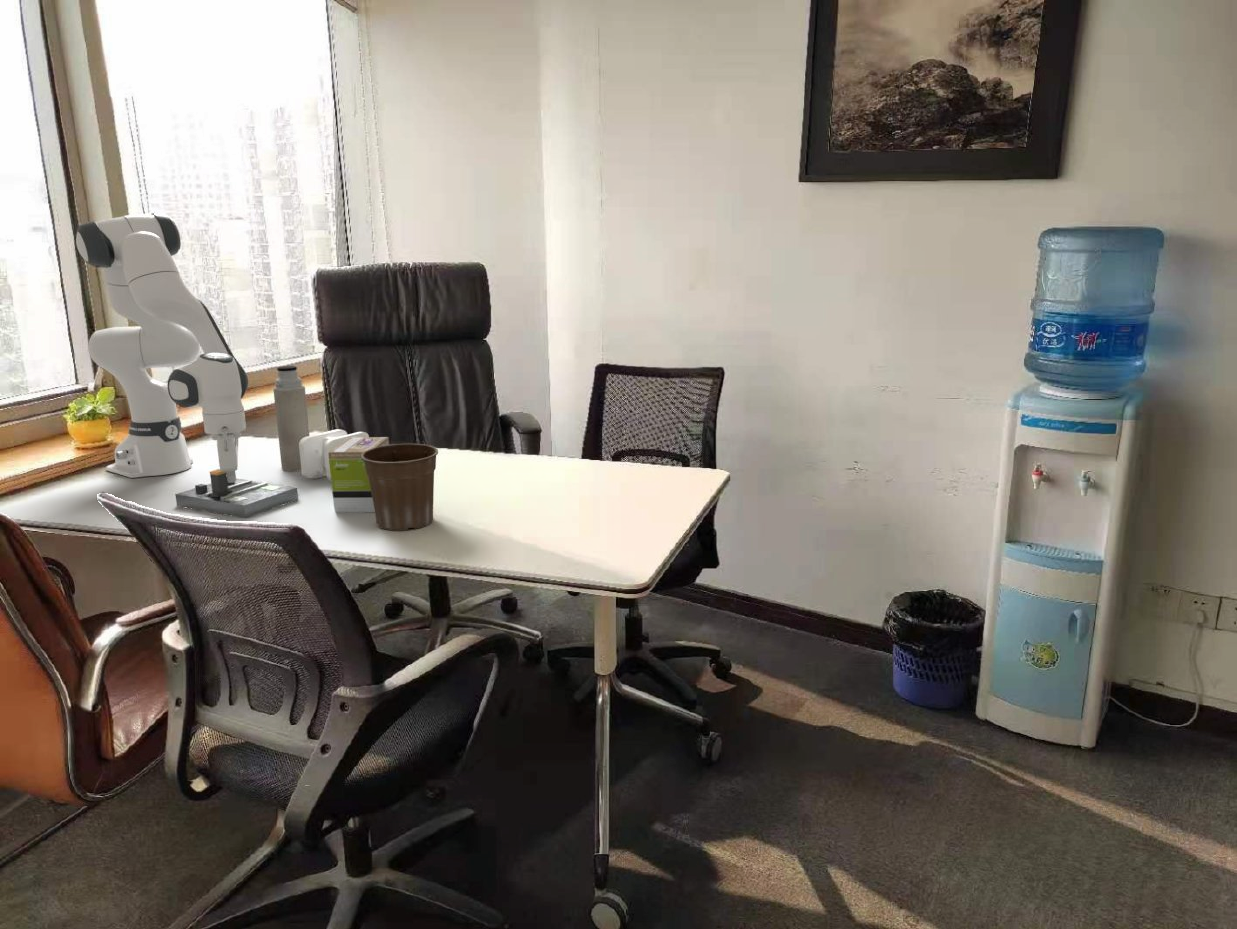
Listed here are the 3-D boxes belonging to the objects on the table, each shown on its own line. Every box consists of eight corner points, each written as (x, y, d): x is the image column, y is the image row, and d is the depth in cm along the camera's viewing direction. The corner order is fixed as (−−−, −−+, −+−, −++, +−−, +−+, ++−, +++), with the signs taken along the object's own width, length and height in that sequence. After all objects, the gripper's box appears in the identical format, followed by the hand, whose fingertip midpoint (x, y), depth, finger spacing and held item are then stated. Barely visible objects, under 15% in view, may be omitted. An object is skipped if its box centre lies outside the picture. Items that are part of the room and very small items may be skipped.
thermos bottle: (300, 462, 241) (290, 363, 234) (318, 466, 237) (309, 365, 230) (275, 468, 234) (264, 367, 227) (294, 472, 230) (283, 369, 223)
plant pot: (425, 536, 179) (420, 462, 175) (353, 532, 182) (347, 459, 178) (452, 513, 195) (449, 444, 191) (386, 510, 198) (381, 442, 194)
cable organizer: (329, 486, 217) (325, 442, 214) (300, 480, 222) (296, 437, 219) (372, 473, 230) (369, 430, 227) (345, 468, 235) (341, 426, 232)
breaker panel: (176, 506, 201) (174, 487, 200) (232, 489, 215) (230, 471, 214) (245, 518, 192) (243, 498, 191) (298, 499, 206) (296, 480, 205)
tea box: (354, 494, 210) (349, 435, 206) (395, 494, 210) (390, 435, 206) (332, 513, 196) (327, 450, 192) (376, 513, 195) (371, 450, 192)
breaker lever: (209, 495, 197) (206, 472, 196) (223, 491, 201) (220, 468, 199) (218, 497, 196) (215, 473, 195) (232, 492, 200) (229, 469, 198)
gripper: (239, 430, 189) (246, 490, 193) (239, 414, 208) (246, 469, 211) (208, 433, 187) (216, 494, 190) (211, 417, 205) (218, 472, 209)
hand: (232, 481), depth 201 cm, fingers closed
